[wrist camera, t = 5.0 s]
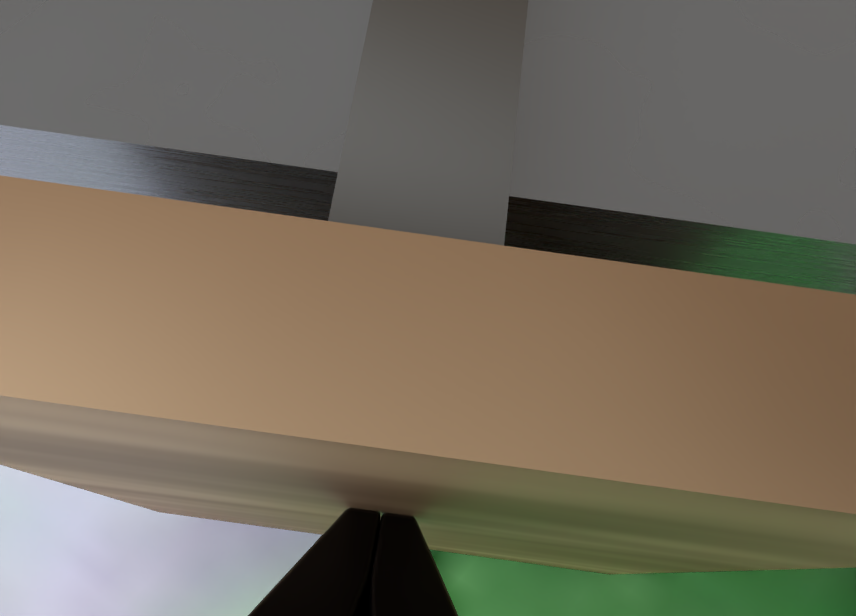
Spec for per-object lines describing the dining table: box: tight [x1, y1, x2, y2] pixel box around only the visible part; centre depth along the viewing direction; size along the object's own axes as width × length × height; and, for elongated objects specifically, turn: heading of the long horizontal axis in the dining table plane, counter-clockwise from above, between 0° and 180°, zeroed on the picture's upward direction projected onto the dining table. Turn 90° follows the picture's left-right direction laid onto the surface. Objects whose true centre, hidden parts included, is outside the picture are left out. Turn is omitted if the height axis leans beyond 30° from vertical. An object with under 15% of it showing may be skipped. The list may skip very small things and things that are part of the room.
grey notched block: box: [0, 0, 856, 295], centre depth 14 cm, size 10×12×12 cm
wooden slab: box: [0, 0, 856, 574], centre depth 12 cm, size 9×12×12 cm
